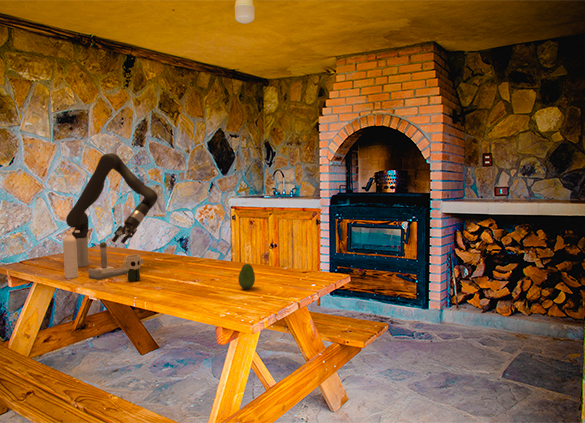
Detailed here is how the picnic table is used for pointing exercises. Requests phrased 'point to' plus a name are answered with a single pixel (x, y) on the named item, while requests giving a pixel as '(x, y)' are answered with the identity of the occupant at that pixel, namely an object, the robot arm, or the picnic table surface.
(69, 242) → the water bottle
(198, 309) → the picnic table surface
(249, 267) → the fruit
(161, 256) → the picnic table surface
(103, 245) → the carriage
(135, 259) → the toy figurine
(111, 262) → the picnic table surface
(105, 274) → the rail board
